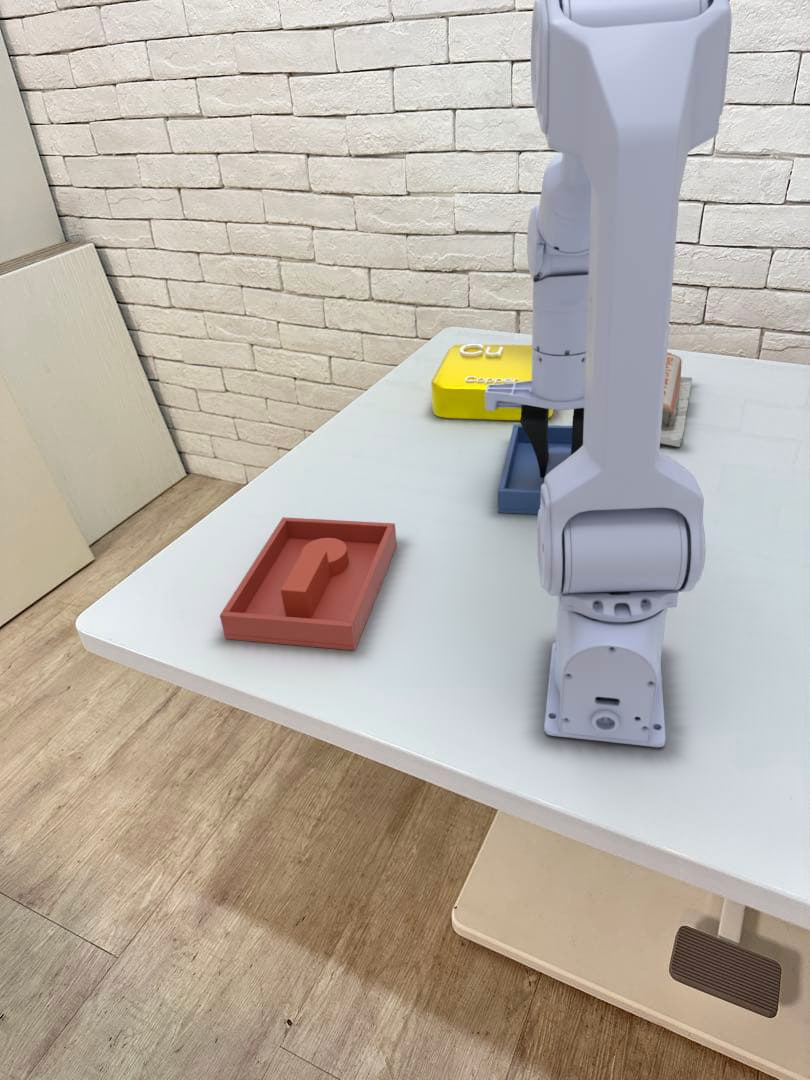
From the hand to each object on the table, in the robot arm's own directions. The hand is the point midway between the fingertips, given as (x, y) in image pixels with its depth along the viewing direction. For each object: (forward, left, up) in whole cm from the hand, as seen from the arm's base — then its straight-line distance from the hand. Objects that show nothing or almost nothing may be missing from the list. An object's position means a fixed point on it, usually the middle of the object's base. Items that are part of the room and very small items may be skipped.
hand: (558, 473), depth 81 cm
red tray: (-20, +20, -2) cm, 28 cm away
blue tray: (+2, 0, -2) cm, 3 cm away
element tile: (+23, +9, -2) cm, 25 cm away
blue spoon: (+1, 0, -1) cm, 2 cm away
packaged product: (+19, -9, -2) cm, 22 cm away
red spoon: (-19, +20, -1) cm, 28 cm away
